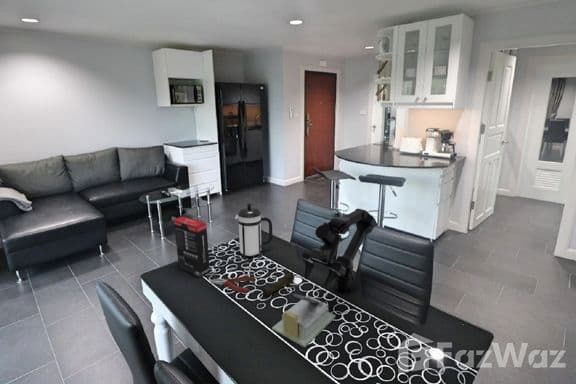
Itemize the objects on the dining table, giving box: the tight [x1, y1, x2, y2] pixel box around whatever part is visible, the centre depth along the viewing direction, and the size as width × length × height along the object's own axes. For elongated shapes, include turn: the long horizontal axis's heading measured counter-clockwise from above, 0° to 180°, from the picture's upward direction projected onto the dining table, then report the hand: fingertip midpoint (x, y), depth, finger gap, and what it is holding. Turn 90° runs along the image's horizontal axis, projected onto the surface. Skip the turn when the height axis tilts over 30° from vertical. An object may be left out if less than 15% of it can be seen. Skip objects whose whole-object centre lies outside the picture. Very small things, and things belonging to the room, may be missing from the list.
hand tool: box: [262, 272, 295, 298], centre depth 145 cm, size 19×4×5 cm, turn 134°
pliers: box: [210, 276, 256, 294], centre depth 148 cm, size 12×20×3 cm, turn 78°
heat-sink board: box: [271, 294, 336, 349], centre depth 120 cm, size 21×15×9 cm
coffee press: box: [234, 202, 273, 260], centre depth 175 cm, size 17×16×30 cm
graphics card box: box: [173, 216, 211, 278], centre depth 157 cm, size 17×7×27 cm, turn 58°
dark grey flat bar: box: [292, 293, 319, 304], centre depth 120 cm, size 14×4×1 cm
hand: (314, 283), depth 125 cm, fingers open, 9 cm apart
